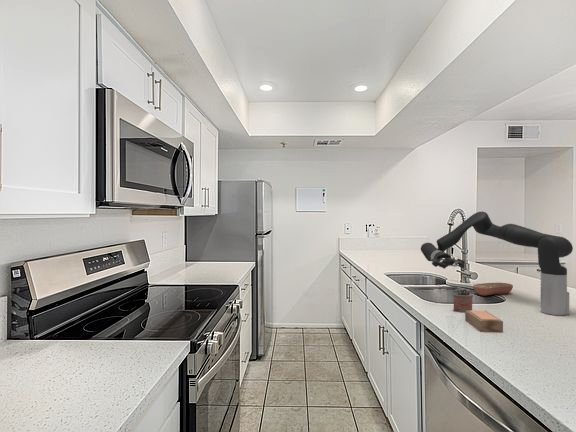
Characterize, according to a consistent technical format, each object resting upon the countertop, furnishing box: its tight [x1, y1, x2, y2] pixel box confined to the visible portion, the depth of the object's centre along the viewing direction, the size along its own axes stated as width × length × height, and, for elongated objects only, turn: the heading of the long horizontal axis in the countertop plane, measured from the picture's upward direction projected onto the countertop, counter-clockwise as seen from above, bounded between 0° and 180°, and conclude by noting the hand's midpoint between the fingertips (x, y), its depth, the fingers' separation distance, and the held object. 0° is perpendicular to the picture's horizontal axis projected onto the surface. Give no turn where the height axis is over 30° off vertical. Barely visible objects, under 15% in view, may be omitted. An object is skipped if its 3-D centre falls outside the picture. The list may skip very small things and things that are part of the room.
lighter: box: [452, 288, 473, 313], centre depth 159 cm, size 8×3×10 cm, turn 84°
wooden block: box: [464, 309, 504, 333], centre depth 139 cm, size 8×14×4 cm, turn 175°
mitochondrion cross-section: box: [472, 282, 514, 297], centre depth 190 cm, size 23×10×5 cm, turn 108°
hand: (453, 266), depth 168 cm, fingers open, 8 cm apart
